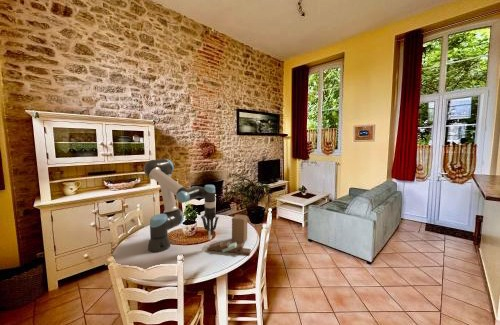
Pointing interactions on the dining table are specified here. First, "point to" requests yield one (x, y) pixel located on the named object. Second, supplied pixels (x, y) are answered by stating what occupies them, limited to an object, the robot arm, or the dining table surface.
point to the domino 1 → (215, 246)
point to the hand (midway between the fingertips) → (210, 238)
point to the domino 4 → (243, 251)
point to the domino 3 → (237, 247)
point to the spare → (230, 247)
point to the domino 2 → (224, 245)
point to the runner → (217, 251)
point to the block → (239, 229)
